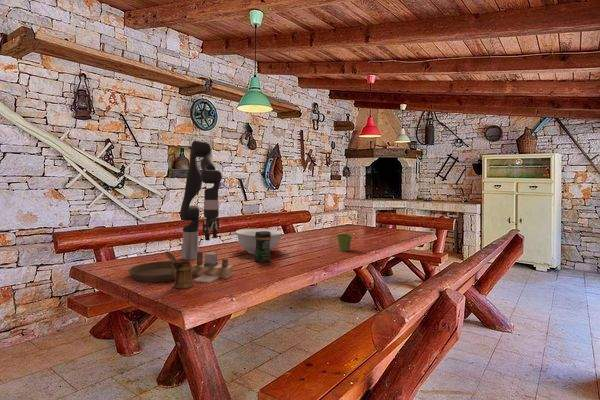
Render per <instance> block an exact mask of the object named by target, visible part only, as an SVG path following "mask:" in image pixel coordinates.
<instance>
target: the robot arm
mask: <svg viewBox="0 0 600 400" xmlns="http://www.w3.org/2000/svg"><path fill="white" fill-rule="evenodd" d="M189 153H190V154H189V161H188V162H189V165H188V170H187V176H186V179H185V186H184V187H185V188H184V195H183V198H182V199H183V200H182V202H181V206H180V209H179V210H180V212H179V213H180V214H179V216H180V220H182V222H183V221H184V222H185V221H186V222H187V221H190V223H188V224H186V225H184V226H183V227H182V243H181V250H180V251H181V253H180V254H181V258H180V259H182V260H184V261H190V260H191V261H193V260H197V252H198V251H199V227H200V209H199V206H198V205H190V204H191V202H192V200H193V199H194V198H195V197H196V196H197V195H198V194H199V192H200V191H201V190H202V189H201V188H202V185H203V183H204V184H209V185H210V184H212V185H213V186H212V187H207V188H205V189H204V191H203V192H204V198H203V199H204V201H203V217H204V218H205V220H202V233H204V239H205V241H210V240H211V238H210V237H211V236H210V235H211V234H210V233H211V230H212V239H217V238H218V231H219V230H220V218H219V216H220V215H219V214H220V213H219V211H220V210H219V209H220V207H219V205H220V204H219V189H220V185H221V181H222V178H223V174H222V172H221V171H220V170H219V169H218V170H217V169H216V166H215V164H214V160H213V151H212V145H211V143H209V142H207V141H200V140H199V141H198V140H193V141H192V142H191V146H190V152H189ZM197 158H202V159H201V161H200V168H201V171H200V169H199V167H198V166H199V165H198V164H197Z"/></svg>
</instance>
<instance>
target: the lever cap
mask: <svg viewBox="0 0 600 400" xmlns="http://www.w3.org/2000/svg"><path fill="white" fill-rule="evenodd" d="M217 262H218V252H210V251H208V252H206V253H204V263H208V264H215V263H217Z"/></svg>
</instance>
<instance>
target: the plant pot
mask: <svg viewBox="0 0 600 400" xmlns="http://www.w3.org/2000/svg"><path fill="white" fill-rule="evenodd" d="M335 236H336V238H337V242H338V250H339V251H340V252H350V249H351V243H352V239H353V236H354V235H352V234H347V233H341V234H338V233H337V234H336V235H335Z"/></svg>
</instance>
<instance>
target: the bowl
mask: <svg viewBox="0 0 600 400" xmlns="http://www.w3.org/2000/svg"><path fill="white" fill-rule="evenodd" d="M260 231H268V232H270V233H271V239H270V251H272V250H273V249H275V248H276V247H277V246H278V245H279V243H280V240H281V239H280V238H281V236H282V234H283V231H282V230H278V229H269V228H242V229H238V230H236V231H235V234H236V235H237V241H238V243H239V246H240V247H242V248H243V249H245V250H246V251H247V253H248V254H250V255H255V249H256V239H255V234H256V232H260Z"/></svg>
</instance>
